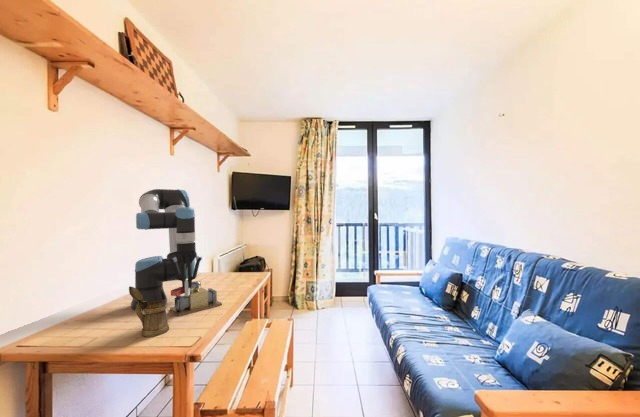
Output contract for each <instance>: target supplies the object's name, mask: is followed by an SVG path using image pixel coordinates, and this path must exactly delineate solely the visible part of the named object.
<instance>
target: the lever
mask: <svg viewBox="0 0 640 417" xmlns="http://www.w3.org/2000/svg"><path fill="white" fill-rule="evenodd" d="M201 282H202V281H200V280H198V281H197V280H196V281H192V287H191V288H190V290H191V289H193V288H197V287H199V288H201V286H202V283H201ZM183 294H185V288H184V289H183V288H182V286H179V287H177V288H174V289H172V290H170V296H171V297H176V296H179V295H180V296H182V295H183Z"/></svg>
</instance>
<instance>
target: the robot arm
mask: <svg viewBox="0 0 640 417" xmlns="http://www.w3.org/2000/svg"><path fill="white" fill-rule="evenodd" d="M190 205H191V204H190V196H189V193H188V191H186V190H185V189H166V188H165V189H164V188H163V189H161V188H155V189H150V190H147V191H145V192H144V193H143V194H142V195H140V197H139V199H138V206H139V207H140V212H137V213H136V216H135V222H136V223H135V224H136V225H135V226H136V229H137V230H145V231H146V230H161V229H168V241H169V242H168V243H169V244H168V245H169V252H168V254H166V258H163V256H162V255H156V256H149V257H145V258H141V259H138V261H136V262H135V263H134V265H135V266H134V272H135V277H134V279H135V281H134V282H135V285H134V286H135V287H134V288H136V289H138V290H139V291H140V292H141V293H142V295H143V299H144V301H148V303H150V302H152V301H157V300H164V304H165V305H166V304H167V303H168V297H167V294H166V292H165V289H164V285H163V283H164V282H173V281H180V282H182V283H181V285H182V286H181V287H182V288H183V289H184V288H185V293H184V296H189V295H190V288H191V287H192V282H193V280H195V279H196V278H197V275H198V272H199V267H200V264H201V261H202V260H203V256H199V255H198V253H197V250H196V242H195V241H196V227H195V226H196V219H195V217H196V214H195V213H196V212H195V208H194V207H190ZM160 210H164V211H162V212H160ZM137 303H138V302H137V301H136V300H134V299H133V298H132V299H131V303H130V308H131V310H133V311H134V310H135V311H136V305H137ZM144 309H145V308H142V309H141V311H144Z"/></svg>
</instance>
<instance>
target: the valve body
mask: <svg viewBox="0 0 640 417" xmlns="http://www.w3.org/2000/svg"><path fill="white" fill-rule="evenodd" d="M217 293H218V292H217V291H216V289H213V288H211V287H210V288H207V289H205V288H204V287H201V286H200V287H197V288H193V289H191V290H190V295H189V296H185V295H179V296H175V297H174V306H170V307H169V311H171V312H172V313H173V314H174V315H176V316H177V317H181V316H185V315H189V313H190V314H192V313H193V312H194V313H197V312H201V311H204V310H209V309H213V308H216V307H220V306H223V302H221V301H219V300H218V299H217V298H218V296H217V295H218V294H217ZM194 313H193V314H194Z"/></svg>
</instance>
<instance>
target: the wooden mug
mask: <svg viewBox="0 0 640 417" xmlns="http://www.w3.org/2000/svg"><path fill="white" fill-rule="evenodd" d="M128 292H129V296H131V298H132V299H134V300H136V301H137V302H138V303H137V305H136V310H135V314H136V316H137V318H138V319H139V320H140V322H141V325H142V328H141V332H140V333H141V335H142V336H143V337H147V338H148V337H156V336H160V335H163V334H164V333H167V332H168V331H169V330H170V325H169V322H168V317H167V312H166V311H167V310H166V309H167V306H166V304H164V300H157V301H152V302H150V303H148V301H144V299H143V295H142V293H141V292H140V291H139V290H138V289H136V288H135V287H133V286H129V287H128ZM142 308H145V309H144V310H143V313H142V310H141V309H142Z"/></svg>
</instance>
